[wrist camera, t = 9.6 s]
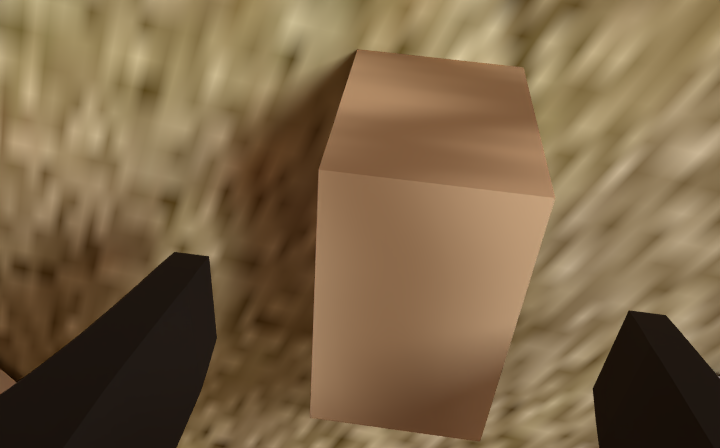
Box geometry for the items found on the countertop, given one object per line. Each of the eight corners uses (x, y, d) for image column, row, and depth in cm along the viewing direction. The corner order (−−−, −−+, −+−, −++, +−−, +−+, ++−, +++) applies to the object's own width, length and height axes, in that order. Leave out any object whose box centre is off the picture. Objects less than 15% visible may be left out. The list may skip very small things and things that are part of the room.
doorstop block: (523, 65, 13) (555, 197, 9) (472, 279, 17) (480, 441, 13) (358, 47, 13) (319, 169, 9) (343, 262, 17) (310, 417, 13)
